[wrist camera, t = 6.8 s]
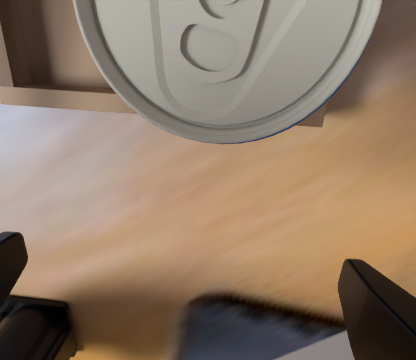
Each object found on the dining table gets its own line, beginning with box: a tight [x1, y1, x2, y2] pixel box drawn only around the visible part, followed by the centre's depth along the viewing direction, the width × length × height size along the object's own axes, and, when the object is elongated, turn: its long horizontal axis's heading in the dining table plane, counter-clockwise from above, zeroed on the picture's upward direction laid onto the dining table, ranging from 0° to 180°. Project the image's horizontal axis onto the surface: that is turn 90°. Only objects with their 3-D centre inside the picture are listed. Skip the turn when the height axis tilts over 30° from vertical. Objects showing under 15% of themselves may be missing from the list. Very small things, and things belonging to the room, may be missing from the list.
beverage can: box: [73, 0, 383, 144], centre depth 11 cm, size 6×6×12 cm
